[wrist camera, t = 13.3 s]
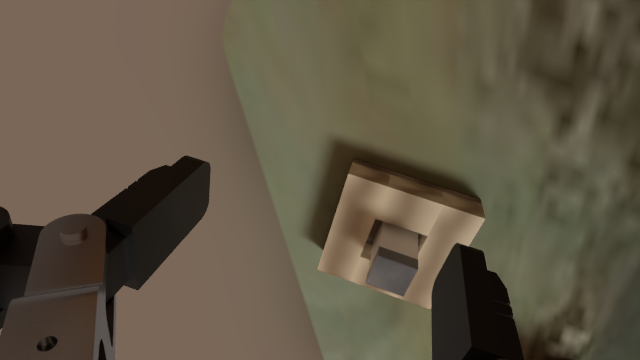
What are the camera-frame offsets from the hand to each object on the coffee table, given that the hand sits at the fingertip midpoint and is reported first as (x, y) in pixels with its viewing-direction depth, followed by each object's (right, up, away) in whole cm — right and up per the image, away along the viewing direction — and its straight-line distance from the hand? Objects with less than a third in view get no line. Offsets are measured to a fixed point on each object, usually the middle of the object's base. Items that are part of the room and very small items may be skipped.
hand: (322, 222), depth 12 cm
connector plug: (+10, -6, +37) cm, 38 cm away
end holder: (+10, -5, +38) cm, 39 cm away
